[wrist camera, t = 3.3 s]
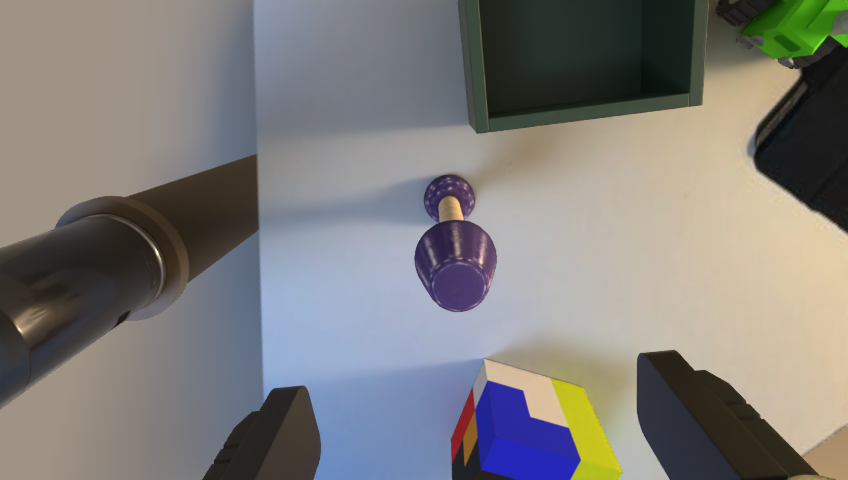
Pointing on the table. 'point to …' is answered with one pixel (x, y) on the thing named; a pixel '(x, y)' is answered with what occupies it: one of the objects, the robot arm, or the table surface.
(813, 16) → the toy tractor
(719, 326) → the table surface
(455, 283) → the toy lamp
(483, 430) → the puzzle toy
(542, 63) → the bin
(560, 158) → the table surface
